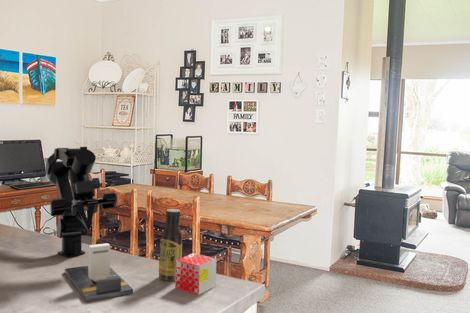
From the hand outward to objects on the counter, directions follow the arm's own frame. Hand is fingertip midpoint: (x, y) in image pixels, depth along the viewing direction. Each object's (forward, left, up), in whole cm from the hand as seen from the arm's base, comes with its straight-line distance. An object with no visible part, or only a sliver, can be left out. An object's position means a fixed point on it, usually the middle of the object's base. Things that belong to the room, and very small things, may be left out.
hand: (89, 229), depth 137 cm
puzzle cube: (+30, +13, -13) cm, 35 cm away
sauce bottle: (+20, +13, -13) cm, 27 cm away
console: (+8, -3, -13) cm, 16 cm away
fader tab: (+10, -4, -11) cm, 16 cm away
